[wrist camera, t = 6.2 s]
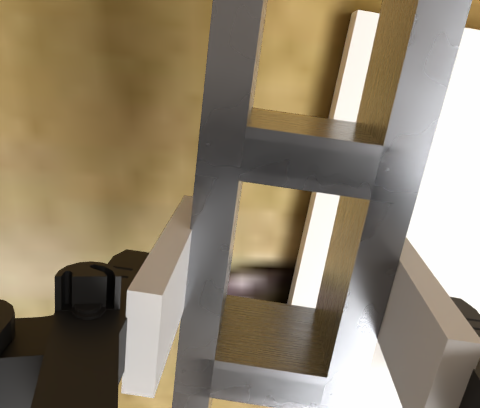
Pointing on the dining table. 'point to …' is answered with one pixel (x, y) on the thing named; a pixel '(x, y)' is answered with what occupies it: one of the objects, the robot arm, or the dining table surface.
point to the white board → (428, 199)
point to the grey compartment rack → (316, 180)
